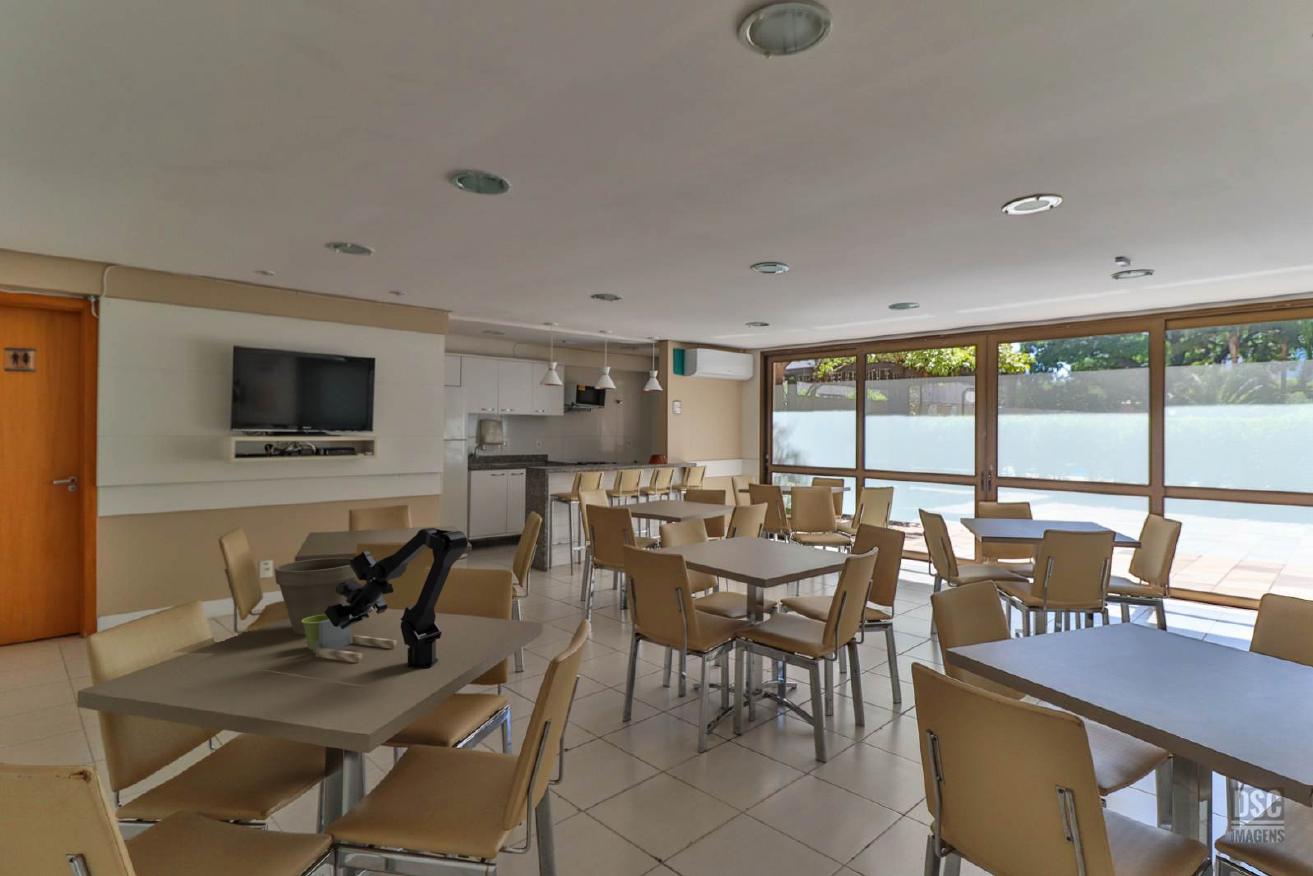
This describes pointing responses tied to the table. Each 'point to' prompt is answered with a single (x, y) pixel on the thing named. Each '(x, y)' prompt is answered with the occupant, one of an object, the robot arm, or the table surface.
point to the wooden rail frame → (353, 655)
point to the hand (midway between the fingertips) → (341, 627)
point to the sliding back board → (331, 636)
